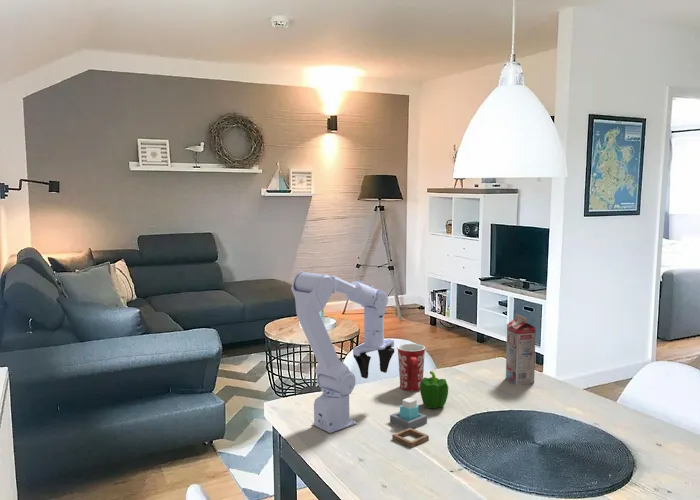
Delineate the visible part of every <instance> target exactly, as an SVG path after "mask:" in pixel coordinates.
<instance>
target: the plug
mask: <svg viewBox="0 0 700 500" xmlns="http://www.w3.org/2000/svg"><path fill="white" fill-rule="evenodd" d="M417 402H418V401H417V399H415V398H412V397H406V398H404V399H402V400H401V405H400V406H399V412H400V417H401V418H403V419H406V420H408V421H410V420H412V419H415V418H418V417H419V413H420V412H419V408H420V406H418V405H417Z"/></svg>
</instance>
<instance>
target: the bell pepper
mask: <svg viewBox="0 0 700 500" xmlns="http://www.w3.org/2000/svg"><path fill="white" fill-rule="evenodd" d="M429 374H430V375H431V376H430V377H423V380H422V381H421V384H420V390H419V392H420V396H421V401H422V403H423V405H424V407H426V408H428V409H437V408H444V406H445V404H446V402H447V399H448V396H449V385H448V382H447V379H445V378H438V377H436V374H435V372H434V371H433V370H432V371H429Z"/></svg>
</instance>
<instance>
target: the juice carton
mask: <svg viewBox="0 0 700 500" xmlns="http://www.w3.org/2000/svg"><path fill="white" fill-rule="evenodd" d="M505 354H506V358H505V359H506V360H505V361H506V362H505V379H506V380H508V381H509V382H511V383H512V384H514V385H515V386H517V385H518V386H519V385H528V384H534V383H535V367H536V366H535V363H536V361H535V360H536V327H535V326H534V325H532V324H530V323H528V318H527V317H525V316H522V315H520V314H517V313H515V318H514V319H512V320H511V321H510V322H508V323H507V324H506V353H505Z"/></svg>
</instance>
